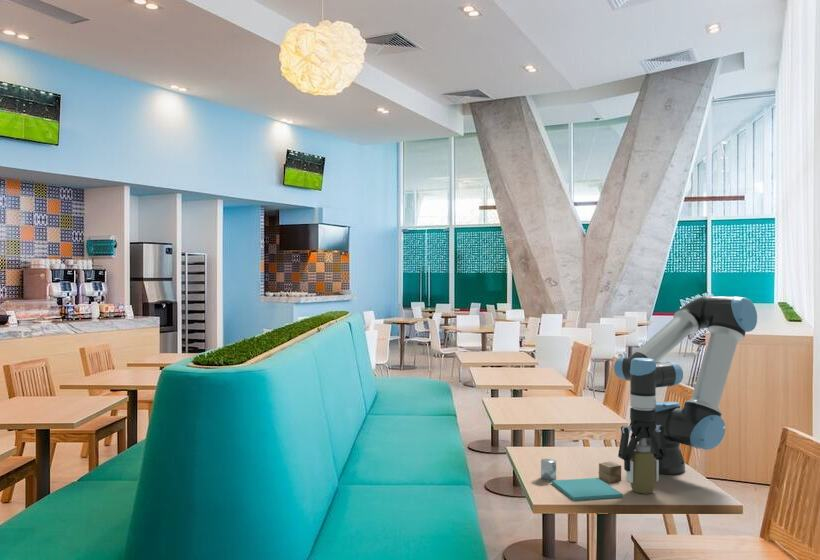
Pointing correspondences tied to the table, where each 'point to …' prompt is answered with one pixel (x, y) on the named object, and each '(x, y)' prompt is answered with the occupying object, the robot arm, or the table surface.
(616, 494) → the teal mat
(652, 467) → the squeeze bottle
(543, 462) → the grey metal tin
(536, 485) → the table surface
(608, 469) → the walnut block
